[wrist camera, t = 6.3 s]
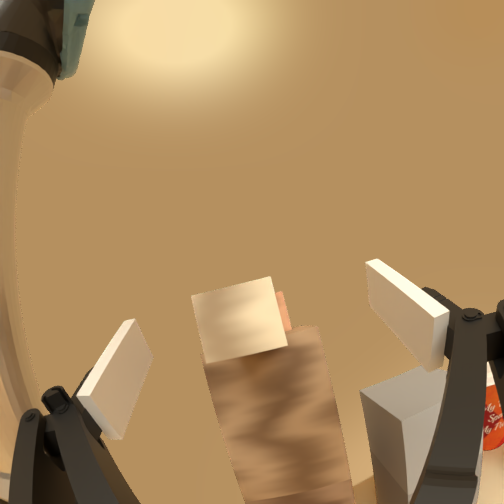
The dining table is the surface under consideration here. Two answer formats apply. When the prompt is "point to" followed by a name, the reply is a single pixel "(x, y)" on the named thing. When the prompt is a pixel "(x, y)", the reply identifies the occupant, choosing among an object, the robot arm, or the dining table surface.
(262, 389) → the tall tower
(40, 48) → the robot arm
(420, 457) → the short tower
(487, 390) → the paper cup
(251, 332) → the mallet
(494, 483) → the dining table surface
